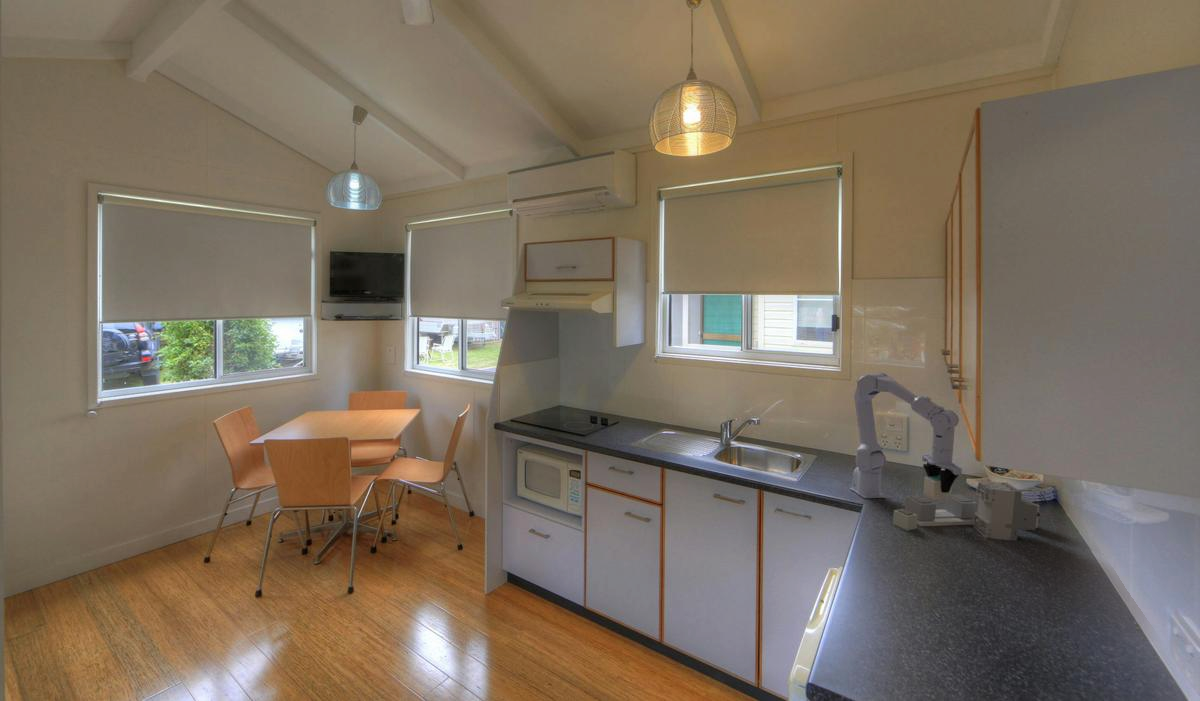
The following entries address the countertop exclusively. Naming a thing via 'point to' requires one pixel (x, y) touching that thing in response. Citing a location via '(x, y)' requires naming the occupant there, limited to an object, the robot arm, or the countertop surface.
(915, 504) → the rail board
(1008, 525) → the circuit breaker
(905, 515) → the contactor
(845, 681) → the countertop surface
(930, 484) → the block
